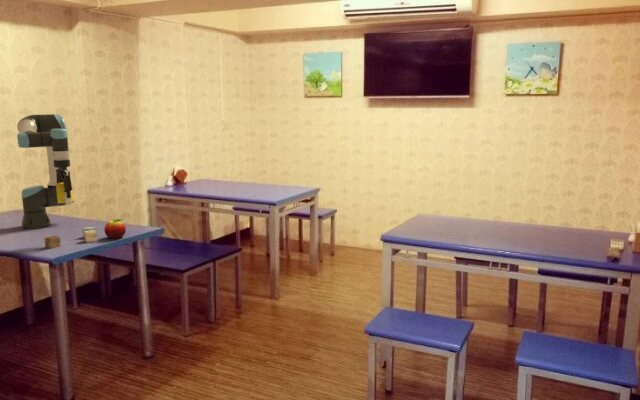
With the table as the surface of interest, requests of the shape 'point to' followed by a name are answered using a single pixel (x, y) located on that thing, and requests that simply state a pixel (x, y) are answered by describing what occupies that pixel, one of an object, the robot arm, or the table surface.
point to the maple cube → (90, 236)
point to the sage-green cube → (89, 230)
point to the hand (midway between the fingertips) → (65, 202)
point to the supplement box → (62, 193)
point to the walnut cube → (52, 241)
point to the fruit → (115, 229)
